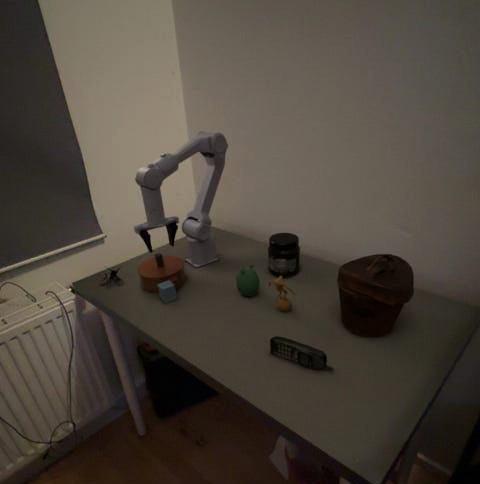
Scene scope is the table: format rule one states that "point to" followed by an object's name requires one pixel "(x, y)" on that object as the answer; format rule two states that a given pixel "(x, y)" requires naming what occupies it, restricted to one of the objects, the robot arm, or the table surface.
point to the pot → (152, 283)
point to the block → (167, 291)
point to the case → (374, 293)
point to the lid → (160, 266)
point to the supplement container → (283, 254)
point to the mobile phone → (298, 353)
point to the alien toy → (247, 281)
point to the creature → (112, 276)
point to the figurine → (283, 302)
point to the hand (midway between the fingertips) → (161, 248)
